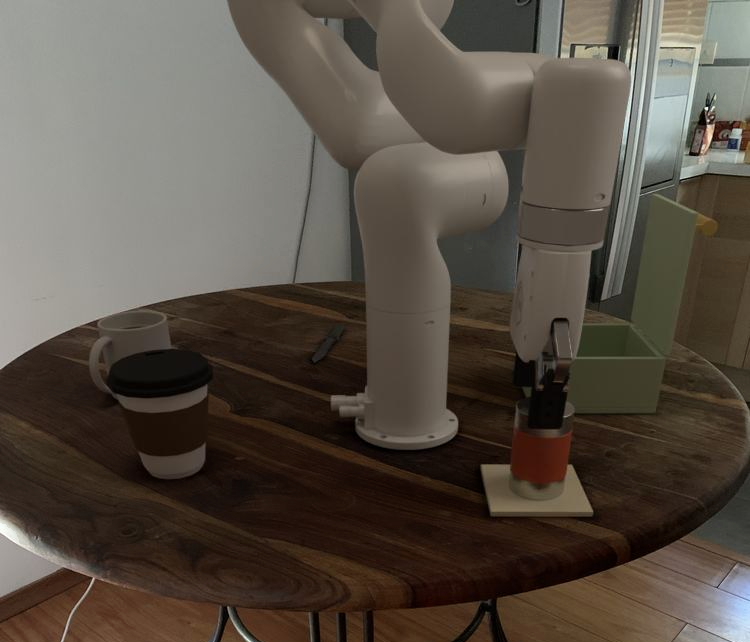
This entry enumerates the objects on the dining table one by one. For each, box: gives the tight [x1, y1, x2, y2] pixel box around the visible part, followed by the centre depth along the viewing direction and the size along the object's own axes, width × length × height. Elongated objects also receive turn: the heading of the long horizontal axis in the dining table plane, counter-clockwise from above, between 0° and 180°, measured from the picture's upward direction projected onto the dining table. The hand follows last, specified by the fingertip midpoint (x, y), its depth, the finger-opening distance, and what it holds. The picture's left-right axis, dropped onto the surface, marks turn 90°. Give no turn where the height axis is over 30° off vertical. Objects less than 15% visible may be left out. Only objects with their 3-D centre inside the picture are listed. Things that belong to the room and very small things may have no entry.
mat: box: [480, 464, 594, 518], centre depth 76 cm, size 10×10×1 cm
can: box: [509, 397, 575, 501], centre depth 74 cm, size 6×6×9 cm
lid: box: [630, 193, 718, 356], centre depth 92 cm, size 16×15×5 cm
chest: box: [521, 322, 667, 414], centre depth 98 cm, size 16×15×7 cm
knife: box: [311, 322, 346, 364], centre depth 118 cm, size 18×1×3 cm
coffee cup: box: [105, 348, 214, 480], centre depth 79 cm, size 11×11×12 cm
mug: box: [88, 310, 172, 401], centre depth 99 cm, size 11×10×10 cm
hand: (535, 405), depth 72 cm, fingers open, 9 cm apart
